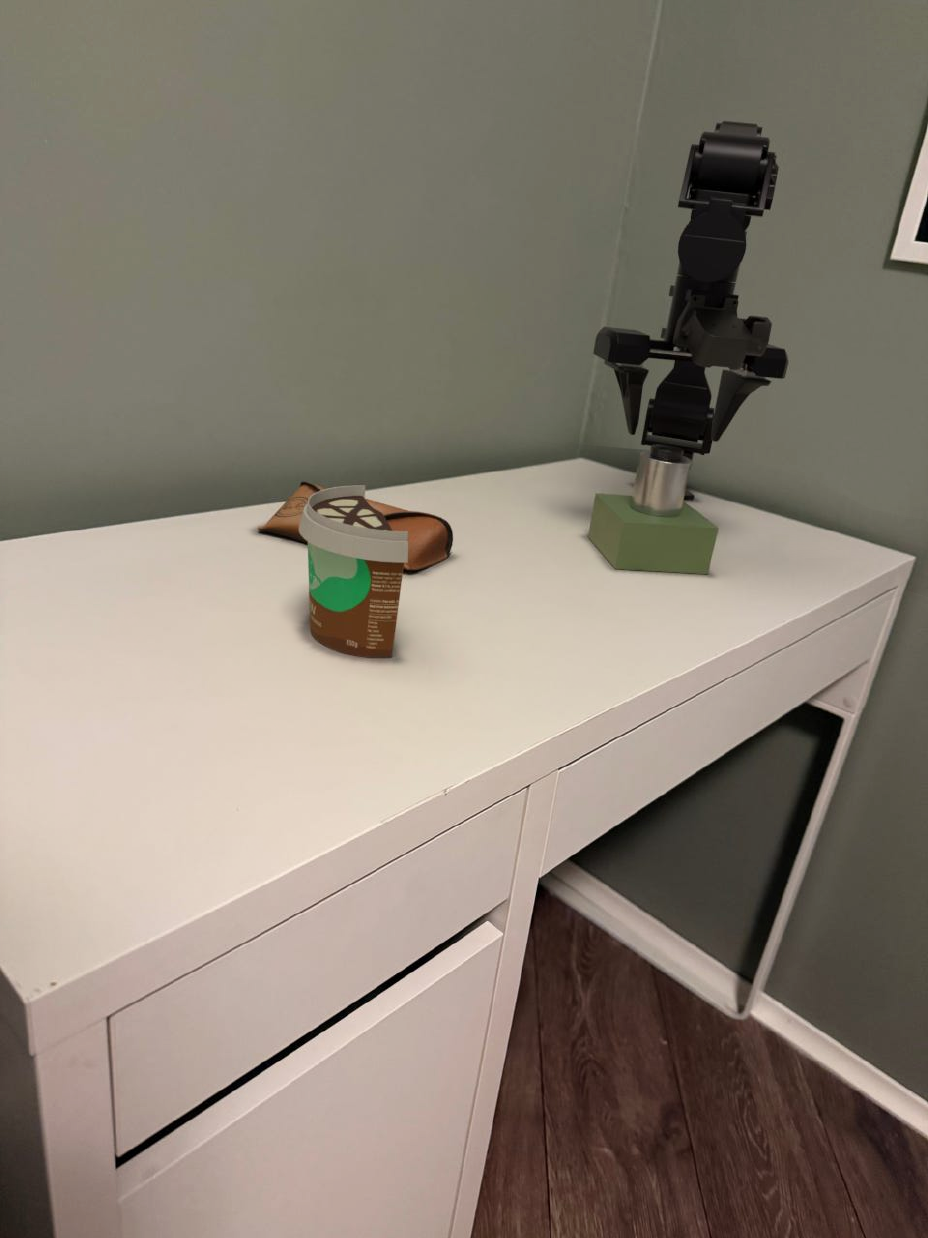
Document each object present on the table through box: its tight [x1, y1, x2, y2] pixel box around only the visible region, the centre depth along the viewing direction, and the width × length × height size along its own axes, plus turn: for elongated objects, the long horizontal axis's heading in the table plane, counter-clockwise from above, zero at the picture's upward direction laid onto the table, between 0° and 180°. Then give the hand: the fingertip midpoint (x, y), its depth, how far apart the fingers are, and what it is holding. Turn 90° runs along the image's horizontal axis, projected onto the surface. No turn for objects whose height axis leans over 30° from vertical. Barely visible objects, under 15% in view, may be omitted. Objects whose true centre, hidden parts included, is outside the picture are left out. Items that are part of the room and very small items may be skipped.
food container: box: [299, 484, 408, 659], centre depth 66 cm, size 12×6×10 cm, turn 21°
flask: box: [630, 444, 693, 517], centre depth 91 cm, size 5×5×6 cm
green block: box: [587, 492, 719, 575], centre depth 94 cm, size 10×10×5 cm
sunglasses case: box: [257, 481, 454, 572], centre depth 87 cm, size 18×7×7 cm
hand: (673, 437), depth 93 cm, fingers open, 9 cm apart
